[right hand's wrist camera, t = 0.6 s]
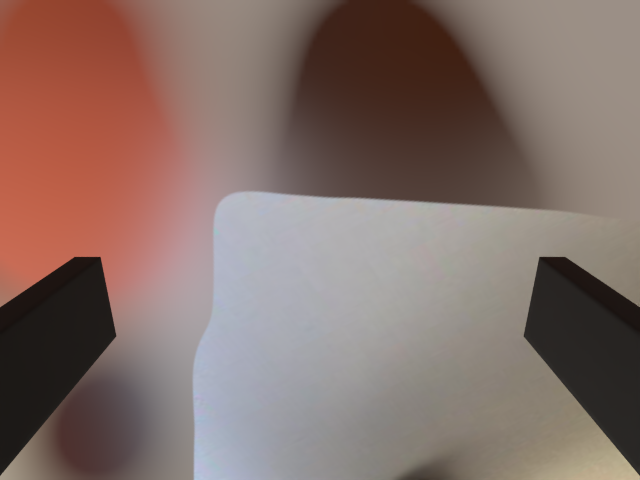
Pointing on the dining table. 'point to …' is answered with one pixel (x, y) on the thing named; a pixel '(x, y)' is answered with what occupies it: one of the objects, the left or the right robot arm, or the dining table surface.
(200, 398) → the dining table surface
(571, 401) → the dining table surface
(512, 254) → the dining table surface
